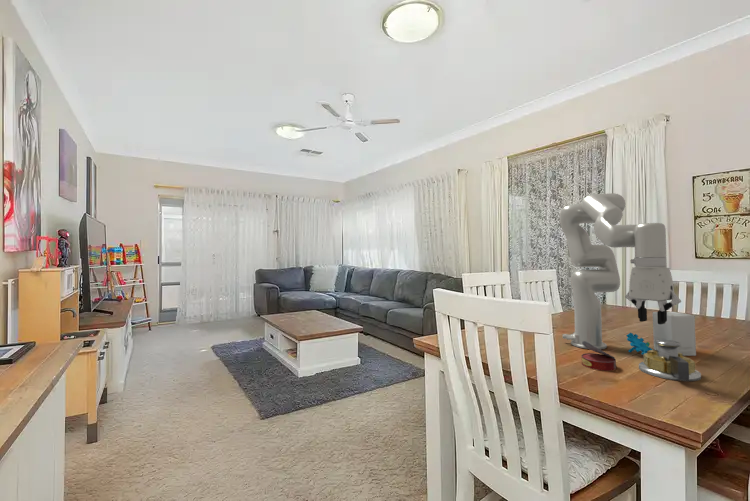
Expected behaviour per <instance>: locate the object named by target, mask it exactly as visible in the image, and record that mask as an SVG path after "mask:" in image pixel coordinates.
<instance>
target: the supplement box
mask: <svg viewBox="0 0 750 501" xmlns="http://www.w3.org/2000/svg"><path fill="white" fill-rule="evenodd" d="M657 312H658V311H653V312H652V331H653V335H652V336H653V350H654V351H657V352H658V344H656V340H671V341H676V342H679V343H680V347H678V353H682V354H683V357H687V356H691V357H693V356H695V357H696V356H697V346H696V345H697V342H696V317H695V315H694V314H689V313H682V312H678V311H667V321H666V322H665V324H658V316H657Z"/></svg>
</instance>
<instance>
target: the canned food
mask: <svg viewBox="0 0 750 501" xmlns="http://www.w3.org/2000/svg"><path fill="white" fill-rule="evenodd" d="M582 344H583V345H584V346H585V347H586V348H588V349H587V350H590V351H593V353H590V352H586V353H583V354H581V365H582V366H583V367H586V368H588V369H592V370H596V371H603V370H604V371H603V372H605V371H607V372H611V371H615V370H617V362H616V359H617V358H616V357H614V356H613V355H611V354H609V353H607V352H605V351H604V350H603V349H598V348H597V347H595V346H593V345H591V344H590V343H588V342H585V341H583V342H582ZM594 352H595V353H594Z"/></svg>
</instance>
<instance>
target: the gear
mask: <svg viewBox="0 0 750 501" xmlns="http://www.w3.org/2000/svg"><path fill="white" fill-rule="evenodd" d="M638 337H639V335H638V334H636V333H635V334H634V333H632V332H629V333H628V334H627V335H626V341H627V342H630V343H629V345H630V346H631V348H630V349H628V353H632V352H634V351H636V352H637V353H638V352H641V353H640V354H641V355H642V356H643V354H645V353H647V351H649V350H653V348H651V347H650V344H651V343H650V342H648V341H647V342H644V341H645V339H644V338H643V337H640V338H638Z"/></svg>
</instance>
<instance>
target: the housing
mask: <svg viewBox="0 0 750 501" xmlns="http://www.w3.org/2000/svg"><path fill="white" fill-rule="evenodd" d="M656 344H658V351H657V352H658V356H661V357H665V360H667V361H670V356H675V357H678V347H680V343H679V342H676V341H671V340H656ZM638 369H639V371H640V372H642V373H644V374H647V375H649V376H652V377H656V378H660V379H665V380H668V381H669V380H670V381H676V382H677V381H678V382H698V381H701V379H702V373H701V372H700V371H699V370H697V369H695V372H694V373H690V374H689V380H682V379H678V378H676V377H675V376H674V375H673V374H672V373H668V372H663V371H659V370H656V369H652V368H650V367H647V366H646V365H645V364H644V361H641V362H639V363H638Z"/></svg>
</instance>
